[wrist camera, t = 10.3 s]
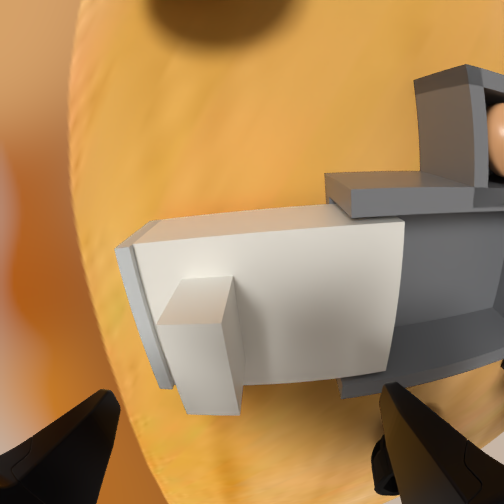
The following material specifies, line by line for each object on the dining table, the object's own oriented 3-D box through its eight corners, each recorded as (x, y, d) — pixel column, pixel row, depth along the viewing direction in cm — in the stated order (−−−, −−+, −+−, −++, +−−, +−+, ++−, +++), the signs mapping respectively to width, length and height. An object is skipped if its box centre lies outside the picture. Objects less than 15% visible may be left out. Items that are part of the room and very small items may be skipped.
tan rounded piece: (496, 170, 15) (537, 182, 11) (451, 168, 15) (492, 179, 11) (493, 109, 13) (535, 109, 9) (447, 100, 13) (489, 96, 10)
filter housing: (492, 311, 20) (528, 348, 15) (326, 340, 21) (340, 399, 16) (510, 99, 14) (563, 99, 8) (315, 75, 15) (337, 46, 10)
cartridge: (367, 328, 19) (405, 418, 12) (178, 341, 21) (143, 431, 13) (373, 201, 16) (447, 252, 9) (149, 221, 18) (76, 280, 10)
